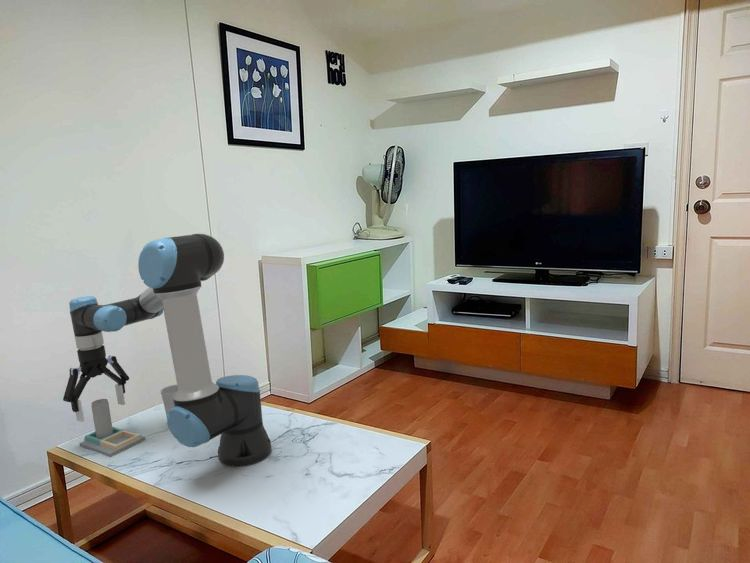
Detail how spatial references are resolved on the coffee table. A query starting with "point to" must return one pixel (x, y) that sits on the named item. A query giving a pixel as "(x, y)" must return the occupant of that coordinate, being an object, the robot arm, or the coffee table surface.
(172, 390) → the cup
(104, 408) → the beverage can
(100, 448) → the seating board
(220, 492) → the coffee table surface
